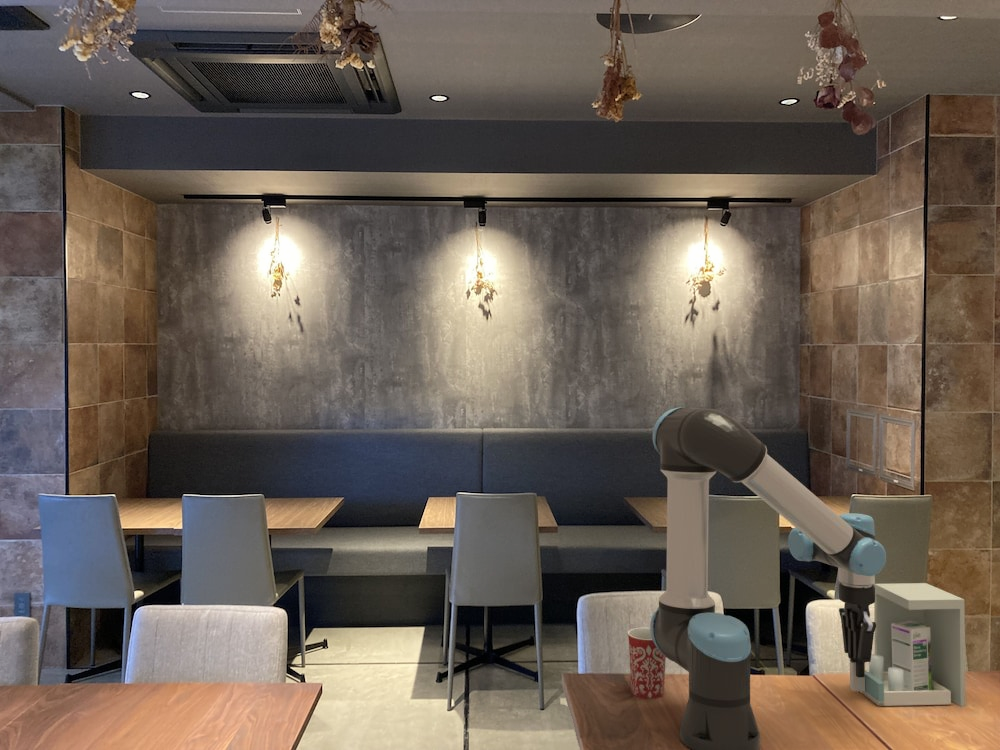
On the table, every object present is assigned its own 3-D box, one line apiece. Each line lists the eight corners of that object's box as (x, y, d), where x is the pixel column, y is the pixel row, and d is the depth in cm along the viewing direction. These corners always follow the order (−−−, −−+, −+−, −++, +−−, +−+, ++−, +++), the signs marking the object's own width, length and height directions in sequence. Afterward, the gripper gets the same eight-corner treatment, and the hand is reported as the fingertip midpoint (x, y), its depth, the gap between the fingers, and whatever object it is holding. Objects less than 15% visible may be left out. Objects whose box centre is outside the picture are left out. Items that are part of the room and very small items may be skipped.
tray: (878, 705, 181) (878, 673, 181) (850, 684, 194) (850, 653, 194) (950, 704, 182) (950, 671, 182) (918, 682, 195) (917, 652, 195)
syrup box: (912, 695, 185) (912, 628, 185) (891, 686, 190) (890, 621, 190) (932, 691, 187) (931, 626, 187) (910, 682, 192) (910, 619, 192)
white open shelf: (909, 707, 181) (908, 600, 181) (874, 682, 196) (874, 583, 196) (965, 706, 182) (964, 599, 182) (926, 681, 197) (925, 583, 197)
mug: (671, 700, 185) (670, 639, 186) (629, 700, 186) (629, 638, 186) (663, 680, 198) (662, 623, 198) (624, 679, 198) (624, 622, 199)
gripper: (888, 590, 182) (888, 700, 181) (859, 576, 195) (860, 679, 194) (854, 591, 181) (854, 701, 181) (827, 577, 194) (828, 679, 194)
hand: (857, 689), depth 188 cm, fingers closed
